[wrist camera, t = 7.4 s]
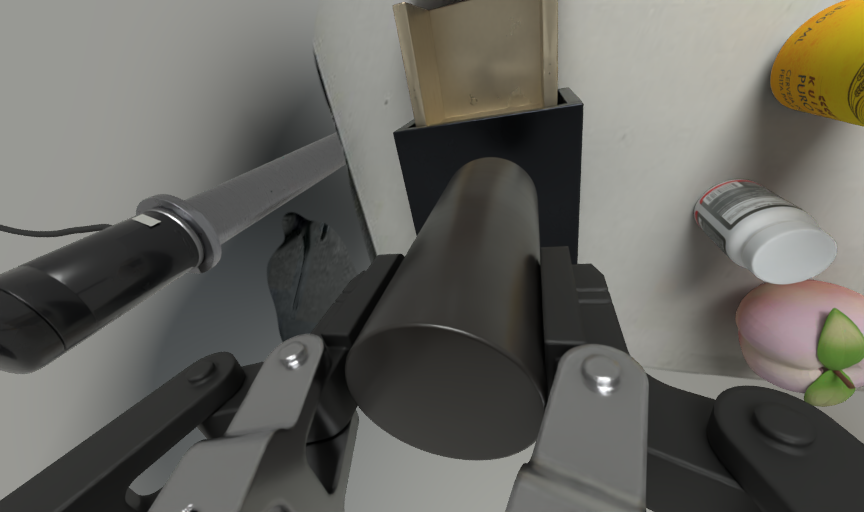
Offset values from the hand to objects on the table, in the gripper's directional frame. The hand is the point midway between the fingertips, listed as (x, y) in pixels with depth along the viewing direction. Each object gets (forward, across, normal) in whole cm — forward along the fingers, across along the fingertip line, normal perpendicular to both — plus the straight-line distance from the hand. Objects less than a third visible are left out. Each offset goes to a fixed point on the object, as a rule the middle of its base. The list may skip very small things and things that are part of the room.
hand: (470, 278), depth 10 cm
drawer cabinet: (+22, +1, +3) cm, 22 cm away
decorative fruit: (+22, -22, +18) cm, 36 cm away
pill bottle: (+22, -17, +9) cm, 29 cm away
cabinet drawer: (+21, +1, -7) cm, 22 cm away
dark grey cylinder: (+6, 0, 0) cm, 6 cm away
